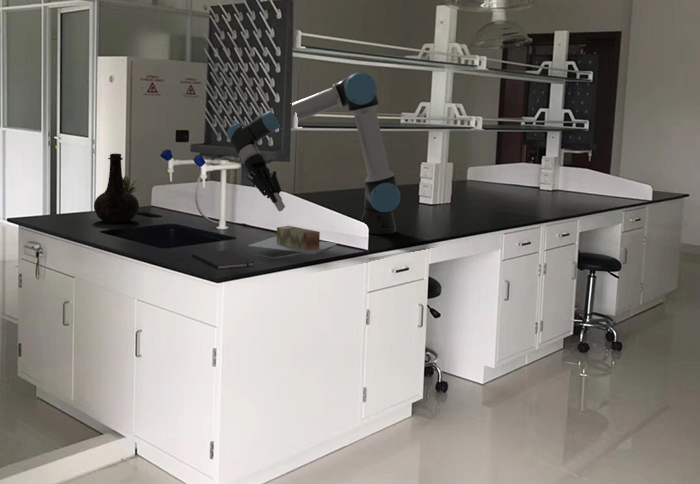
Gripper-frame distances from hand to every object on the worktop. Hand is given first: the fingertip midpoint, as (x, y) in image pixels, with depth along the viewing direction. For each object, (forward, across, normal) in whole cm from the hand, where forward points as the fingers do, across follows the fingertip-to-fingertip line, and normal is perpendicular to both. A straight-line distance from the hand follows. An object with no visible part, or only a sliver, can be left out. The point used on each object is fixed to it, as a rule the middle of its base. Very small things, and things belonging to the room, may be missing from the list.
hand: (282, 208), depth 285 cm
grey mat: (+13, -1, -5) cm, 14 cm away
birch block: (+7, 0, -6) cm, 9 cm away
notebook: (+17, +35, -3) cm, 39 cm away
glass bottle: (-45, +22, -63) cm, 81 cm away
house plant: (-65, 0, -84) cm, 106 cm away
